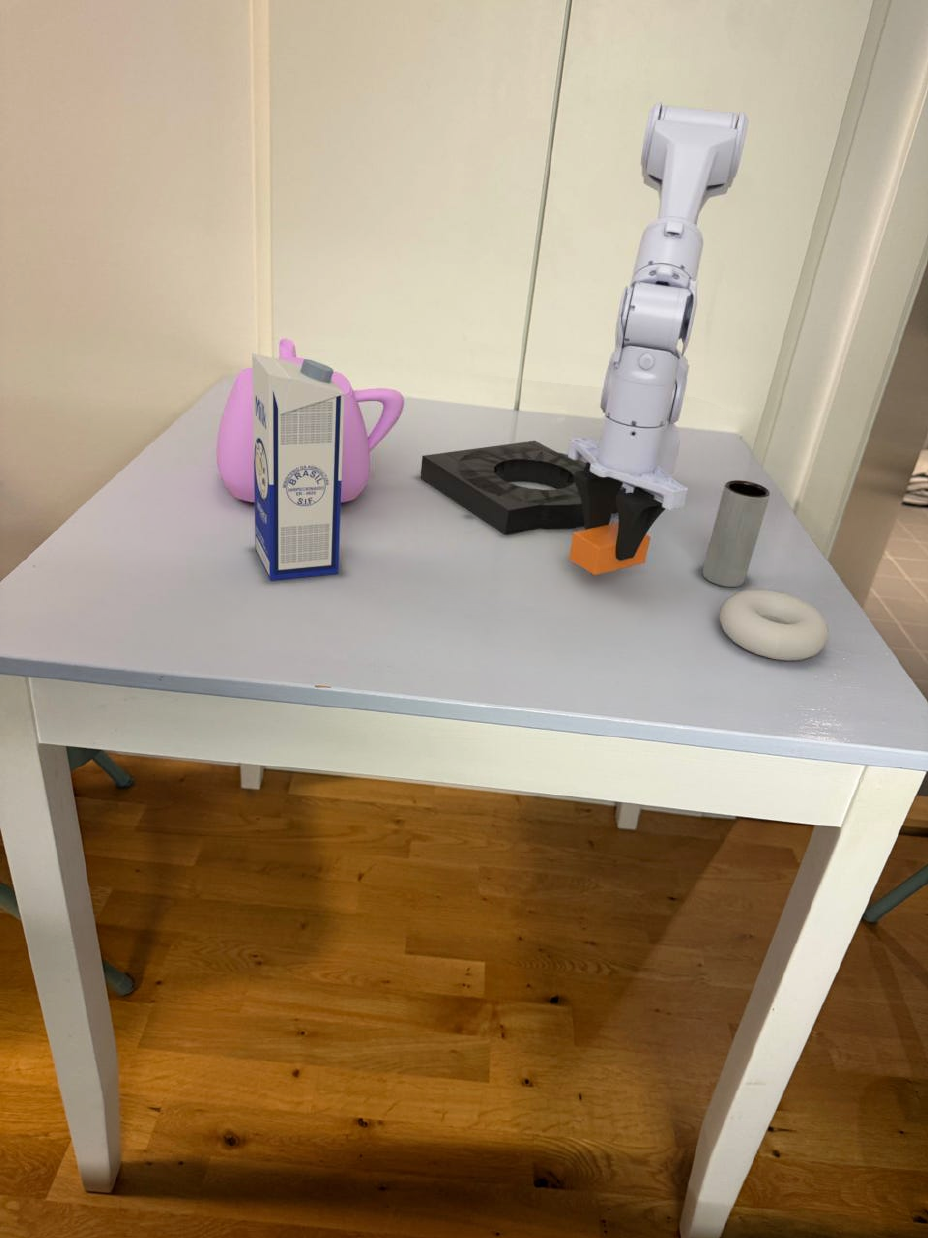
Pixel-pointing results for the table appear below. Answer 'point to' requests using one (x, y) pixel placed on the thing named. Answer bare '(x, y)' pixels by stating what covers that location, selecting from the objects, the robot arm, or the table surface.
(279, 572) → the milk carton
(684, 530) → the table surface
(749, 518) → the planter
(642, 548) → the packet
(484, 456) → the square plate with hole
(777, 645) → the donut
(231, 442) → the teapot
